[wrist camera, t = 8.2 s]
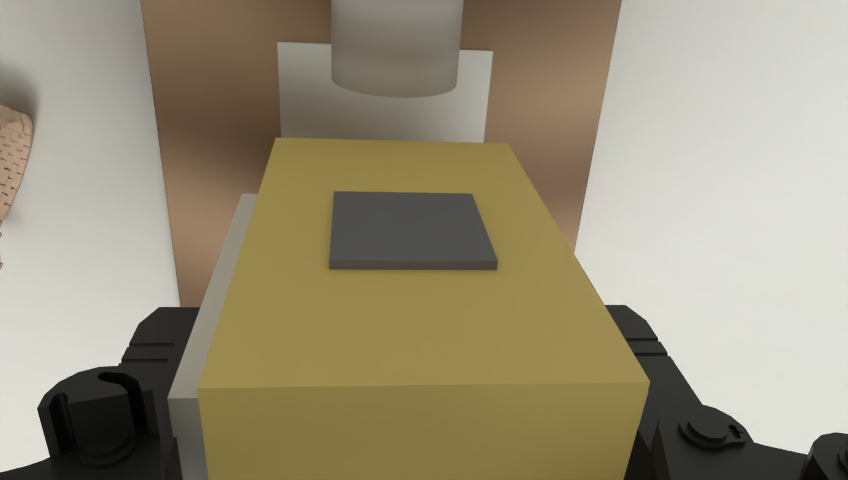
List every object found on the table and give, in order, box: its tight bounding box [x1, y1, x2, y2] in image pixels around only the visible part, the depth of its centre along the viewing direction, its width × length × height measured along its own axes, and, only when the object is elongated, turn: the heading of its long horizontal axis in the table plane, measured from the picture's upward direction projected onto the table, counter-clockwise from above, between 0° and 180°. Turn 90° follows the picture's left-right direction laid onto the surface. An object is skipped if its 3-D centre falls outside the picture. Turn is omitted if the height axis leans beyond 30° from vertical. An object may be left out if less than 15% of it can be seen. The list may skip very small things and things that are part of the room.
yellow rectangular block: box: [197, 138, 650, 480], centre depth 12 cm, size 5×5×8 cm
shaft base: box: [141, 0, 622, 307], centre depth 18 cm, size 19×13×7 cm
